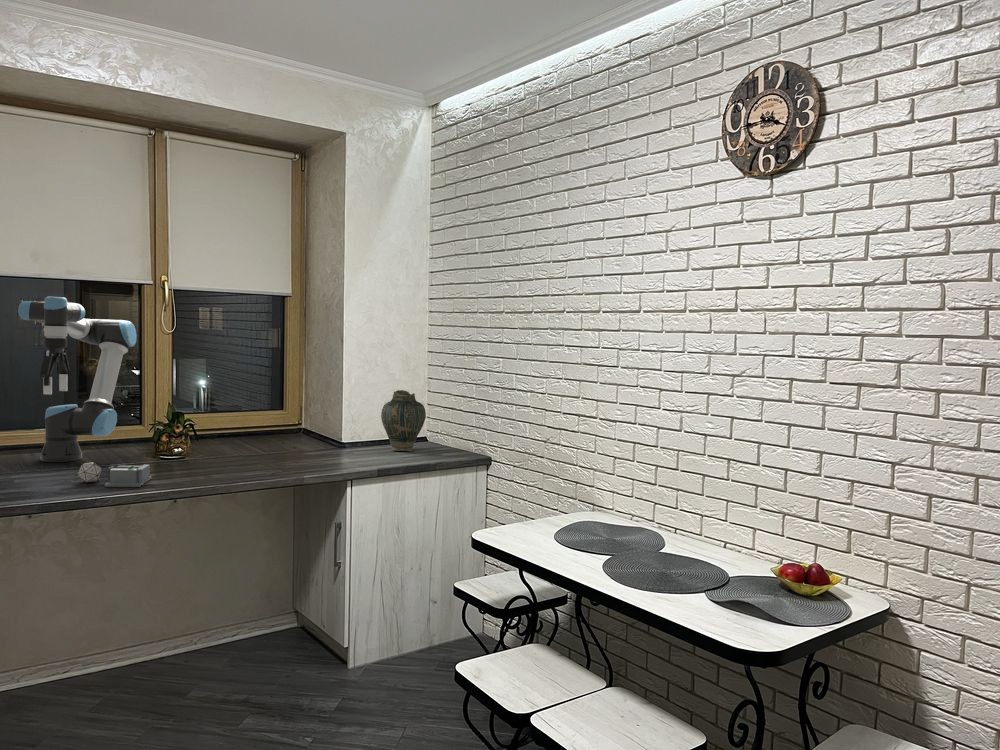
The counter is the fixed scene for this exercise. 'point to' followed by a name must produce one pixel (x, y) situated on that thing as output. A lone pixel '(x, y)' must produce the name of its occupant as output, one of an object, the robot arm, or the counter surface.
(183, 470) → the counter surface
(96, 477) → the game die
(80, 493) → the counter surface
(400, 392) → the vase
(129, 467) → the block with dark end
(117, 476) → the gauge housing
